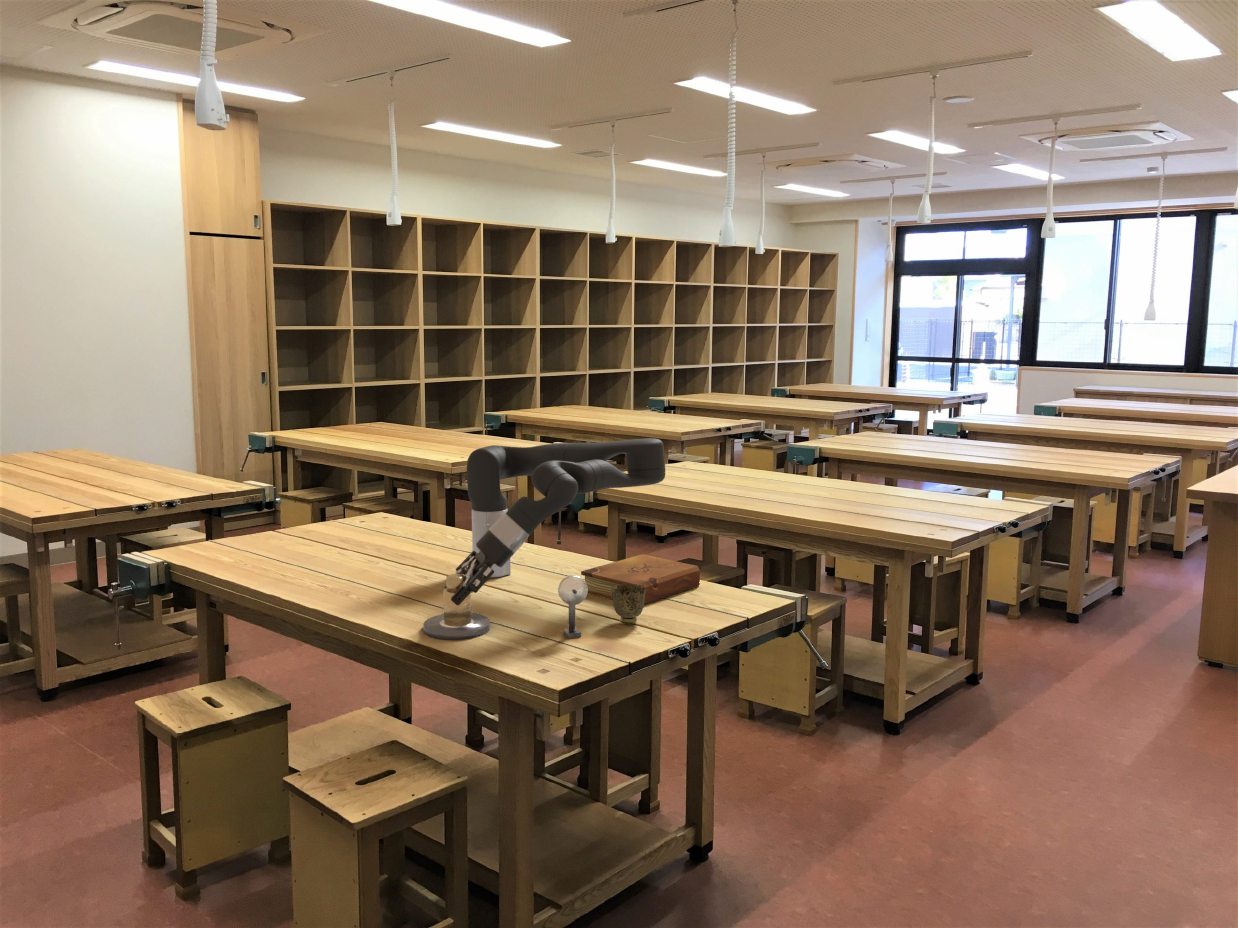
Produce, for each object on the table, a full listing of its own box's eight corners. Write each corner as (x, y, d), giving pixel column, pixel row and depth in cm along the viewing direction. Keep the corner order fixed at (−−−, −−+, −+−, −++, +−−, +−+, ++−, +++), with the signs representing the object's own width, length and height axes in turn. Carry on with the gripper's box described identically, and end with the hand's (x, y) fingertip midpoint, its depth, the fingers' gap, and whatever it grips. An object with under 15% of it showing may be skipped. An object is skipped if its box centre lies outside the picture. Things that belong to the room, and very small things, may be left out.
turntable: (483, 616, 211) (482, 609, 211) (496, 635, 198) (496, 628, 198) (419, 622, 207) (419, 615, 206) (428, 642, 194) (428, 635, 193)
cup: (626, 615, 212) (626, 580, 211) (652, 622, 207) (652, 586, 206) (604, 623, 206) (604, 588, 205) (631, 630, 202) (631, 594, 200)
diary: (639, 609, 219) (639, 585, 218) (581, 594, 231) (580, 571, 230) (699, 588, 236) (699, 565, 235) (642, 574, 248) (642, 553, 247)
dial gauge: (583, 631, 201) (583, 572, 199) (589, 637, 197) (589, 576, 195) (556, 634, 199) (555, 574, 197) (561, 640, 195) (561, 579, 193)
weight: (468, 616, 206) (467, 571, 204) (473, 624, 201) (472, 578, 199) (442, 619, 204) (440, 574, 203) (446, 627, 199) (445, 581, 197)
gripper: (522, 559, 198) (469, 617, 196) (507, 544, 211) (457, 598, 209) (497, 535, 195) (442, 595, 193) (483, 522, 208) (432, 577, 206)
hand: (450, 597), depth 201 cm, fingers open, 8 cm apart
